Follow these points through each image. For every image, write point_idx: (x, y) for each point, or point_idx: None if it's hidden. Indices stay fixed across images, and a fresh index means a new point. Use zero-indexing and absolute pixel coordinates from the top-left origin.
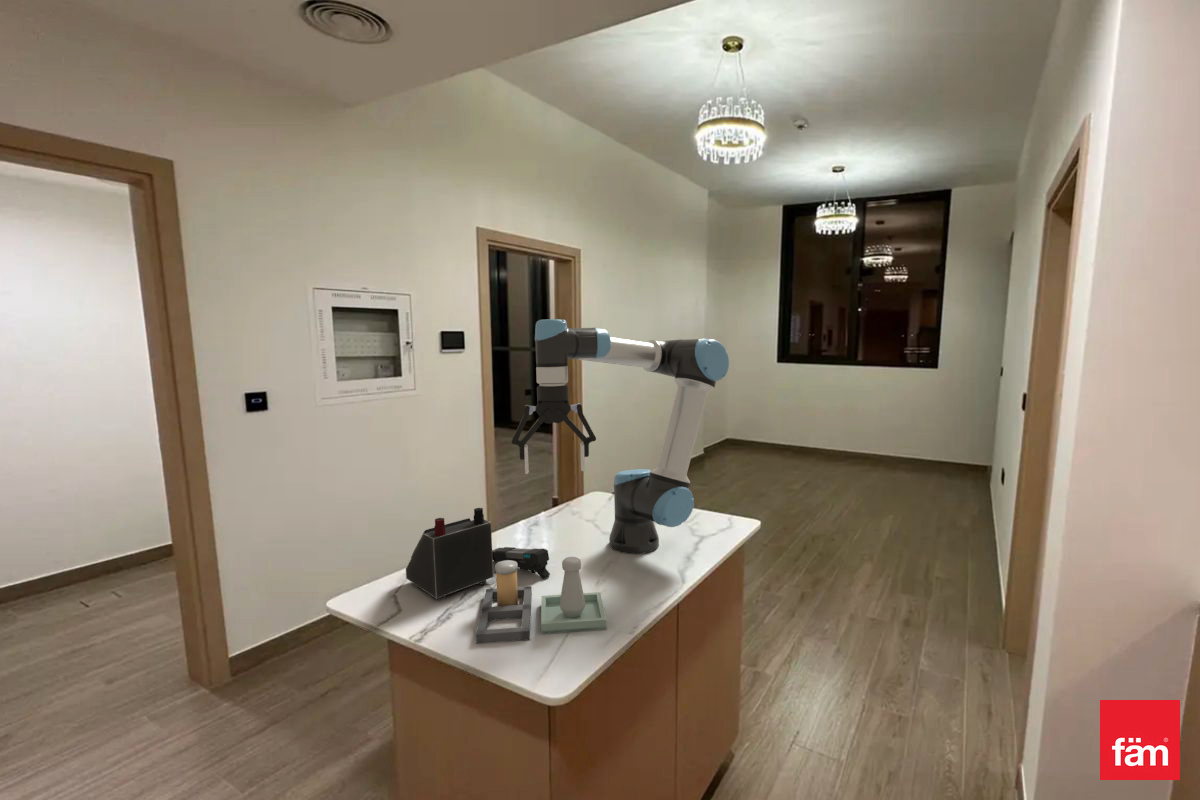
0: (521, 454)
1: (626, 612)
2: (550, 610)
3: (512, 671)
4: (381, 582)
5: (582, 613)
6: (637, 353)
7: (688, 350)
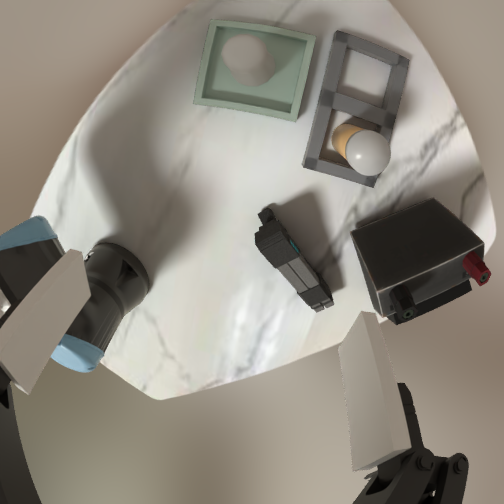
0: (406, 408)
1: (169, 61)
2: (287, 90)
3: None
4: None
5: None
6: None
7: None
